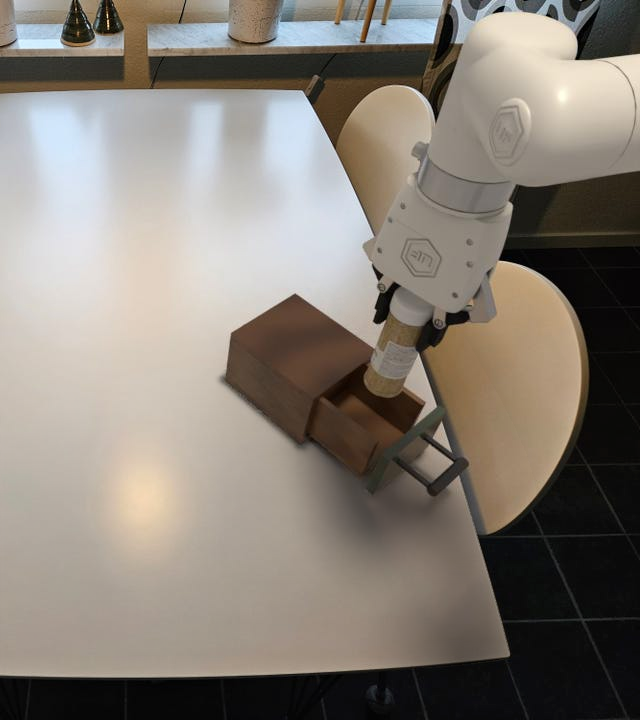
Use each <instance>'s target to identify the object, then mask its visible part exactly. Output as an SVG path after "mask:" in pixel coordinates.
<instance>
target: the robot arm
mask: <svg viewBox="0 0 640 720" xmlns="http://www.w3.org/2000/svg"><path fill="white" fill-rule="evenodd" d="M578 47H579V46H578V39H577V36H576V34H575V32H574V31H573V30H572V29H571V28H570V26H568V25H566V24H565V23H563V22H561V21H559V20H558V19H554V18H552V17H549V16H546V15H542V14H538V13H533V12H526V11H502V12H495V13H492V14H491V13H490V14H488V15H486V16H484V17H482V18H480V19H479V20H478V21H476V22H475V23H474V25H473V26H472V27H471V28H470V29H469V31H468V33H467V34H466V35H465V38H464V41H463V43H462V46H461V49H460V52H459V55H458V58H457V61H456V64H455V67H454V69H453V70H454V71H453V73H452V76H451V79H450V81H449V83H448V88H447V90H446V93H445V96H444V99H443V101H442V105H441V107H440V111H439V114H438V117H437V119H436V122H435V125H434V128H433V131H432V133H431V137H430V140H429V142H428V143H425V142H423V141H421V140H420V141H417V142H416V143H415V144H414V145H413V147H412V149H411V152H410V155H411V156H412V157H414V158H416V160H417V161H418V162H419V165H418V170H417V171H415V172H413V173H411V174H410V175H408V177H407V178H406V180H405V181H404V183H403V184H402V186H401V188H400V190H399V191H398V193H397V195H396V197H395V198H394V201H393V203H392V205H391V207H390V209H389V211H388V213H387V214H386V217H385V219H384V221H383V224H382V226H381V228H380V230H379V233H378V234H376V235H375V236H373V237H371V238H370V239H369V240H368V239H367V240H366V241H365V242H363V244H362V249H363V252H364V253H365V255H366V256H367V258H368V260H369V261H370V262H371V268H372V270H373V272H374V275H375V277H376V279H377V284H376V289H377V291H378V292H379V293H378V296H377V299H376V302H375V304H374V310H376V311H375V313H374V316H373V320H372V323H374V324H375V325H378V326H379V325H381V324H382V323H385V322H386V319H387V316H388V314H389V311H390V303H391V300H392V297H393V295H394V292H395V291H396V290H397V289H398V288H399V287H401V286H403V287H404V288H406V289H407V290H409V291H411V292H412V293H414V294H415V295H417V296H419V297H420V298H422V299H424V300H425V301H427V302H429V303H430V304H432V305H434V306H435V307H434V315H433V318H432V319H430V320H429V321H428V322H427V323H426V324H425V326H424V328H423V330H422V333H421V335H420V337H419V340H418V342H417V344H416V347H415V349H416V351H417V352H419V353H418V354H422V353H423V352H425V351H426V350H428V348H430V347H432V348H436V347H438V345H440V344H441V342H442V341H443V339H444V337H445V336H446V333H447V331H448V329H449V327H450V326H456V325H463V324H466V323H471V324H487V323H489V322H490V321H492V320H493V319H494V318H496V317H497V315H498V311H497V307H496V303H495V298H494V295H493V291H492V287H491V283H490V281H491V279H492V277H493V275H494V272H495V270H496V268H497V265H498V263H499V260H500V257H501V254H502V252H503V250H504V246H505V244H506V243H505V242H506V240H507V236H508V233H509V229H510V225H511V220H512V215H513V210H514V205H513V204H512V202H510V201H509V200H510V198H511V196H512V194H513V192H514V190H515V189H516V186H517V185H519V186H523V187H529V188H530V187H531V188H537V187H539V188H540V187H547V186H554V185H559V184H566V183H572V182H578V181H579V182H580V181H585V180H589V179H594V178H595V179H596V178H602V177H607V176H608V177H609V176H613V175H621V174H627V173H632V172H640V53H637V54H629V55H628V54H627V55H620V56H612V57H604V58H595V59H594V58H593V59H581V60H580V59H578V60H577V59H576V57H577V54H578ZM471 301H472V303H473V305H472V304H469V303H470V302H471Z"/></svg>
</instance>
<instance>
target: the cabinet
mask: <svg viewBox="0 0 640 720" xmlns="http://www.w3.org/2000/svg"><path fill="white" fill-rule="evenodd" d="M374 349H375V347H372V346H371V345H370V344H368V343H367V342H366V341H364V340H363V339H361V338H360V337H359V336H357V335H355V334H354V333H353V332H351V331H350V330H348V329H347V328H346V327H344V326H343V325H341V324H340V323H339V322H338V321H336V320H334V319H333V318H332V317H330V316H329V315H327V314H325V313H324V312H323V311H321V310H320V309H318V308H317V307H316V306H314V305H313V304H312V303H310V302H308V301H307V300H306V299H304V298H303V297H302V296H300V295H299V294H297V293H293V294H291V295H290V296H288V297H286V298H285V299H283V300H281V301H280V302H278V303H277V304H275V305H274V306H271V307H270V308H269V309H267V310H265V311H264V312H262V313H261V314H259V315H258V316H256V317H254V318H253V319H251V320H250V321H248V322H246V323H245V324H242V325H241V326H239V327H238V328H236V329H235V330H233V331H232V332H230V336H229V345H228V353H227V361H226V369H225V379H224V380H225V381H226V382H227V383H229V384H230V385H231V386H232V387H233V388H234V389H235V390H237V391H238V392H239V393H240V394H241V395H242V396H243V397H245V398H246V399H247V400H248V401H250V402H251V403H252V404H253V405H254V406H255V407H256V408H258V409H259V410H260V411H261V412H262V413H263V414H265V415H266V416H267V417H268V418H269V419H270V420H271V421H272V422H273V423H275V424H276V425H277V426H279V427H280V428H281V429H282V430H283V431H284V432H286V434H288V435H289V436H290V437H291V438H292V439H293V440H295V441H296V442H297V443H298V444H299V445H302V444H304V442H305V441H307V440H308V439H309V438H312V436H311V435H309V434H308V433H307V431H308V428H309V424H310V421H311V418H312V414H313V411H314V408H315V404H316V401H317V399H319V398H320V397H321V396H323V395H324V394H326V393H327V392H328V391H330V390H331V389H332V388H334V387H335V386H336V385H338V384H339V383H340V382H342V381H343V380H344V379H346V378H347V377H349V376H350V375H351V374H353V373H354V372H355V371H357V370H358V369H359V368H361V367H362V366H363V365H365V364H366V363H367V362H371V357H372V355H373V352H374Z"/></svg>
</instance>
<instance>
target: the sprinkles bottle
mask: <svg viewBox="0 0 640 720" xmlns="http://www.w3.org/2000/svg"><path fill="white" fill-rule="evenodd" d="M434 307H435V306H434V305H432V304H430V303H429V302H427V301H425V300H424V299H422V298H420V297H419V296H417V295H415V294H414V293H412V292H411V291H409V290H407V289H406V288H404V287H403V286H401V287H399V288H398V289H397V290H396V291H395V292H394V295H393V297H392V300H391V303H390V311H389V314H388V316H387V319H386V320H385V321H384V325H383V327H382V329H381V331H380V334H379V336H378V338H377V342H376V344H375V347H374V352H373V355H372V357H371V362H370V364H369V367H368V369H367V371H366V373H365V375H364V384H365V386H366V387H367V389H368V390H369V391H371V392H372V393H374V394H375V395H377V396H381V397H386V398H392V397H395V396H397V395H399V394H400V393H401V392H402V390H403V387H405V383H406V381H407V377H408V375H409V374H410V372H411V371H412V369H413V366H414V365H415V362H416V360H417V357H418V355H419V354H420V353H419V352H417V351H416V349H415V347H416V344H417V342H418V340H419V337H420V335H421V333H422V330H423V328H424V326H425V324H426V323H427V322H428V321H429V320H430V319H432V318H433V315H434Z"/></svg>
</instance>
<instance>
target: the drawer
mask: <svg viewBox="0 0 640 720" xmlns="http://www.w3.org/2000/svg"><path fill="white" fill-rule="evenodd" d="M369 364H370V362H367V363H366V364H365V365H363V366H362V367H361V368H359V369H358V370H357V371H355V372H354V373H353V374H351V375H350V376H349V377H347V378H346V379H344V380H343V381H342V382H340V383H339V384H338V385H336V386H335V387H334V388H332V389H331V390H330V391H328V392H327V393H326V394H324V395H323V396H321V397H320V398H319V399H317V401H316V404H315V408H314V411H313V414H312V418H311V421H310V424H309V428H308V431H307V433H308V434H309V435H311V438H312V439H314V440H315V441H316V442H317V443H319V444H320V445H321V446H322V447H323V448H325V449H326V450H327V451H328V452H329V453H331V454H332V455H333V456H334V457H335V458H337V460H338V461H340V462H341V463H342V464H344V465H345V466H346V467H347V468H348V469H350V470H351V471H352V472H353V473H354V474H355V475H357V476H358V477H359V478H363V476H365V475H366V474H367V473H368V472H369V471H371V470H372V469H373V468H374V469H373V471H372V473H371V476H370V477H369V480H368V482H367V484H366V486H365V491H367V493H369V494H370V495H371V496H374V495H375V494H376V493H378V492H379V491H380V490H381V489H383V488H384V487H385V485H387V484H388V483H389V482H390V481H391V480H393V478H395V477H397V475H398V474H399V473H400V472H402V470H403V471H405V472H406V473H407V474H409V475H410V476H411V478H414V480H416V481H417V482H418V483H420V484H421V485H422V486H423V487H425V488H426V489H425V490H426V493H427V494H428V495H429V496H430V497H433V498H436V497H438V496H440V494H441V493H442V492H444V490H445V489H446V488H447V487H449V486H450V484H452V482H453V481H455V480H456V479H457V478H458V477H459V476H460V475H461V474H462V473H463V472H464V471H465V470H467V469H468V467H469V466H470V462H469V460H467V458H465V457H463V456H460V457H458V456H457V455H456V454H454V453H453V452H452V451H450V450H449V449H447V448H446V447H445V446H444V445H442V444H441V443H440V442H438V441H437V440H436V439H434V436H435V435H436V433H437V431H438V429H439V427H440V425H441V423H442V422H443V420H444V418H445V416H446V414H447V412H448V410H447V409H446V408H444V407H443V406H442V405H440V404H438V405H437V406H436V407H435V408H434V409H433V410H431V411H430V412H429V413H428V414H427V415H425V416H424V417H423V418H422V419H421V420H420V421H418V419H419V417H420V415H421V414H422V411H423V409H424V407H425V406H426V403H427V402H426V401H425V400H424V399H423V398H422V397H420V396H418V395H417V394H415V393H414V392H412V391H411V390H410V389H409V388H407V387H406V386H404V387H403V390H402V392H401V393H400V394H399V395H397V396H395V397H392V398H386V397H381V396H377V395H375V394H374V393H372V392H371V391H369V390H368V389H367V387H366V386H365V384H364V375H365V373H366V371H367V369H368V367H369ZM417 421H418V422H417ZM429 445H430V446H431V447H432V448H434V449H435V450H436V451H437V452H439V453H441V455H443V456H444V457H445V458H447V459H448V460H449V461H451V462H452V463H451V464H450V465H449V466H448V467H447V468H446V469H444V471H443V472H442V473H441V474H439V476H437V477H436V478H435V479H434V480H433V481H432V482H431V481H430V480H428V479H427V478H426V477H424V476H423V475H422V474H420V472H418V471H417V470H416V469H414V468H413V467H412V466H410V465H409V464H411V462H413V461H414V460H415V459H416V458H417V457H419V456H420V455H421V454H422V453H423V452H424V451H425V450H426V449H427V448H428V447H429Z"/></svg>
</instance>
